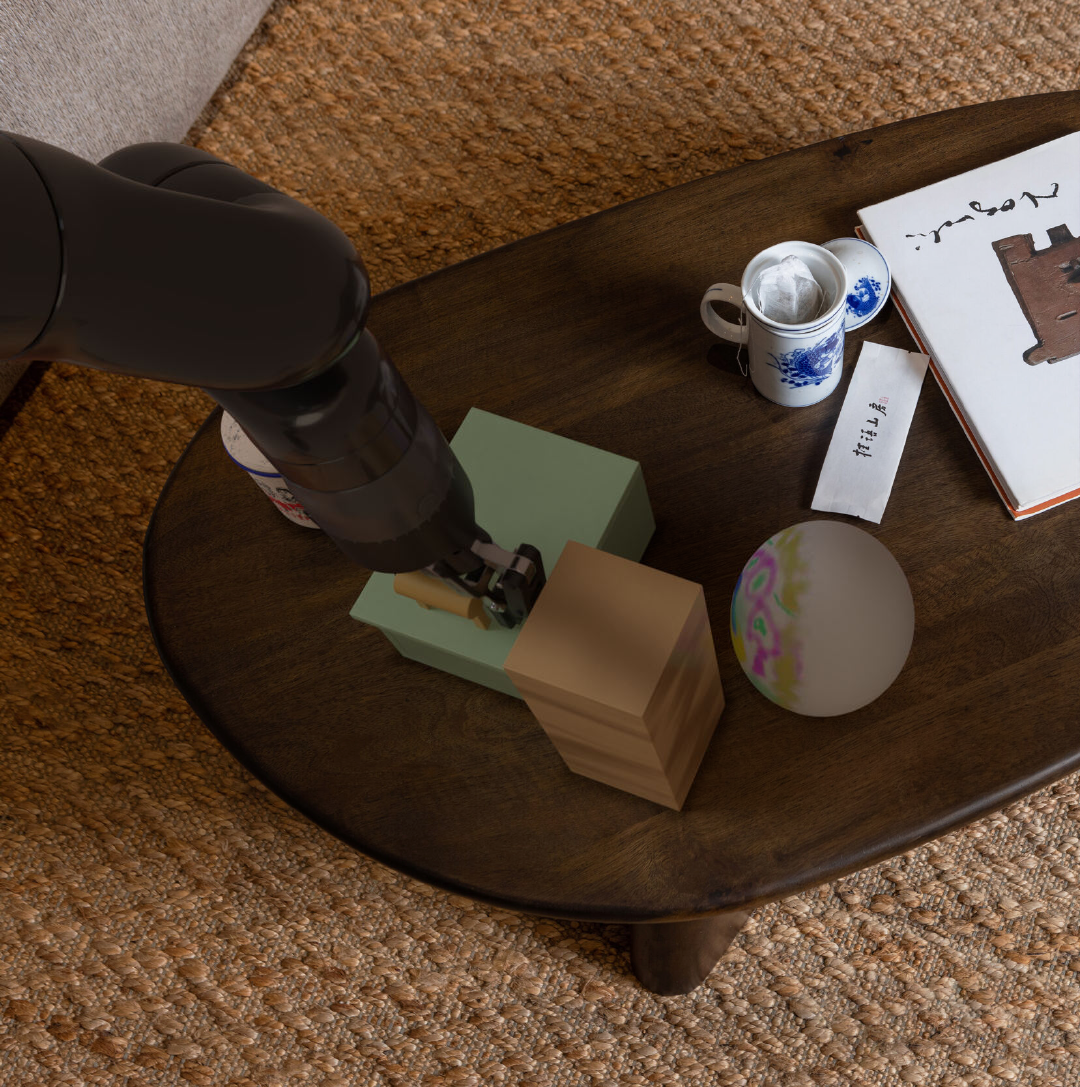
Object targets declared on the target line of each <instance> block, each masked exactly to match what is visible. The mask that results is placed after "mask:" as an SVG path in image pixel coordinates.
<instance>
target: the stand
mask: <svg viewBox="0 0 1080 1087" xmlns="http://www.w3.org/2000/svg"><path fill="white" fill-rule="evenodd" d="M712 634H713V633H712V630H711V623H710V619H709V613H708V609H707V602H706V599H705V593H704V587H703V585H702V584H700V583H697V582H694V581H691V580H689V579H685V578H683V577H679V576H677V575H675V574H671V573H668V572H666V571H662V570H659V569H658V568H657V569H656V568H653V567H650V566H648V565H645V564H642V563H640V562H639V563H636V562H633V561H630V560H627V559H624V558H622V557H619V556H616V555H613V554H610V553H607V552H604V551H601V550H598V549H595V548H592V547H589V546H587V545H584V544H581V543H578V542H575V541H572V540H568V542H567V544H566V546H565V547H564V549H563V551H562V553H561V555H560V557H559V559H558V561H557V563H556V565H555V567H554V569H553V570H552V572H551V574H550V576H549V578H548V580H547V582H546V584H545V586H544V588H543V590H542V592H541V593H540V595H539V597H538V599H537V601H536V603H535V605H534V607H533V609H532V611H531V613H530V615H529V616H528V618H527V620H526V622H525V624H524V626H523V628H522V630H521V632H520V634H519V636H518V638H517V639H516V641H515V643H514V645H513V647H512V649H511V651H510V653H509V655H508V657H507V659H506V661H505V663H504V664H503V668H504V670H505V671H506V673H507V674H508V676H509V678H510V679H511V681H512V682H513V684H514V685H515V687H516V688H517V690H518V691H519V693H520V694H521V696H522V697H523V699H524V700H523V701H524V702H525V704H526V705H527V706H528V708H529V710H530V711H531V713H532V714H533V716H534V717H535V719H536V721H537V722H538V724H539V725H540V726H541V727H542V729H543V731H544V733H545V734H546V735H547V737H548V739H549V740H550V741H551V743H552V744H553V746H554V748H555V749H556V751H557V752H558V753H559V755H560V756H561V758H562V759H563V761H564V762H565V764H566V765H567V767H568V769H569V771H570V772H573V773H575V774H577V775H580V776H583V777H585V778H588V779H591V780H594V781H596V782H599V783H602V784H604V785H607V786H610V787H613V788H615V789H618V790H620V791H623V792H626V793H629V794H631V795H634V796H636V797H639V798H643V799H644V800H648V801H650V802H653V803H656V804H658V805H661V806H664V807H666V808H669V809H671V810H675V811H677V812H681V810H682V808H683V806H684V803H685V801H686V799H687V796H688V794H689V792H690V789H691V787H692V785H693V782H694V779H695V778H696V775H697V773H698V770H699V768H700V765H701V763H702V761H703V759H704V756H705V753H706V751H707V749H708V747H709V744H710V742H711V739H712V737H713V735H714V733H715V730H716V728H717V725H718V724H719V721H720V718H721V716H722V713H723V711H724V709H725V706H726V701H725V695H724V690H723V686H722V680H721V676H720V670H719V665H718V660H717V655H716V649H715V644H714V640H713V635H712Z"/></svg>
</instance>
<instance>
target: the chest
mask: <svg viewBox="0 0 1080 1087" xmlns="http://www.w3.org/2000/svg"><path fill="white" fill-rule="evenodd" d="M643 474H644V473H643V470H642V468H641V469H640V471H639V473H638V475H637V477H636V479H635V481H634V483H633V485H632V487H631V489H630V490H629V492H628V494H627V496H626V498H625V500H624V502H623V504H622V506H621V508H620V510H619V512H618V514H617V516H616V518H615V520H614V522H613V524H612V526H611V528H610V530H609V532H608V534H607V536H606V538H605V540H604V542H603V544H602V546H601V548H600V550H601V551H604V552H607V553H610V554H613V555H616V556H619V557H622V558H624V559H627V560H630V561H633V562H636V563H639V564H640V561H641V560H642V558H643V556H644V553H645V552H646V550H647V547H648V545H649V543H650V542H651V539H652V536H653V535H654V533H655V531H656V528H657V525H656V522H655V518H654V514H653V509H652V507H651V506H652V505H651V502H650V498H649V494H648V491H647V486H646V481H645V479H644V475H643ZM379 631H381V632H382V633H383V634H384V636H385V637H386V638H387V639H388V640H389V642H391V644H392V645H393V646H394V647H395V649H396V650H397V651H398V652H399V653H400V655H401V656H402V657H404V658H407V659H410V660H412V661H415V662H418V663H421V664H423V665H426V666H429V667H432V668H434V669H437V670H440V671H442V672H445V673H448V674H451V675H453V676H455V677H459V678H462V679H464V680H467V681H470V682H473V683H475V684H478V685H481V686H484V687H486V688H489V689H491V690H494V691H498V692H500V693H502V694H505V695H508V696H512V697H514V698H516V699H519V700H522V701H525V700H524V699H523V697H522V696H521V694H520V693H519V691H518V690H517V688H516V687H515V685H514V684H513V682H512V681H511V679H510V678H509V676H508V674H505V673H502V672H499V671H497V670H494V669H491V668H488V667H486V666H483V665H480V664H477V663H475V662H472V661H469V660H466V659H464V658H461V657H458V656H455V655H453V654H450V653H447V652H444V651H442V650H439V649H436V648H433V647H431V646H428V645H425V644H422V643H419V642H417V641H414V640H411V639H408V638H406V637H403V636H400V635H397V634H395V633H392V632H389V631H386V630H384V629H381V628H379Z"/></svg>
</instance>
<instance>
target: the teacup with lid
mask: <svg viewBox="0 0 1080 1087" xmlns="http://www.w3.org/2000/svg"><path fill="white" fill-rule="evenodd" d="M220 435H221V440H222V444H223V447H224V449H225V451H226V453H227V455H228V456H229V457H230V458H229V459H231V460H232V461H233V462H234V463H235V464H236V465H237V466H238V467H240V468H241V469H243V470H244V471H246V472H247V473H248V475H249V476H250V477H251V478H252V480H254V482H255V483H256V484H257V486H259V488H261V490H262V491H263V492H264V494H265V495H267V497H268V498H269V499H270V500H271V502H272V503H273V504H274V505H275V506H276V507H277V509H278V510H279V511H280V512H281V513H282V514H283V515H284V516H285V517H286V518H287V519H289V520H290V521H292V522H294V523H295V524H297V525H300V526H302V527H306V528H311V529H319V530H321V529H320V528H319V527H318V526H317V525H316V524H315V523H314V522H313V521H312V520H310V519H309V518H308V517H307V516H306V515H305V514H304V513H303V510H304V508H303V507H302V506H301V505H300V504H299V502H298V501H297V500H296V499H295V497H294V496H293V495H292V494H291V492H290V491H289V489H288V488H287V486H286V484H285V482H284V481H283V479H282V477H281V475H280V473H279V472H278V471H277V470H276V469H275V468H274V467H273V466H272V464H271V463H270V462H269V461H268V460H267V459H266V458H265V457H264V455H263V454H262V453H261V452H260V451H259V450H258V449H257V448H256V447H255V445H254V444H253V443H252V442H251V441H250V440H249V438H248V437H247V436H246V434H245V433H244V432H243V430H242V429H241V428H240V426H239V424H238V423H237V422H236V421H235V420H234V419H233V418H232V417H231V416H230V415H229V414H228V413H227V412H226V411H225V410H224V409H223V414H222V417H221V422H220Z"/></svg>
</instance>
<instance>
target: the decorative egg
mask: <svg viewBox="0 0 1080 1087" xmlns="http://www.w3.org/2000/svg"><path fill="white" fill-rule="evenodd" d="M743 567H744V568H742V571H741V573H740V575H739V576H738V580H737V582H736V585H735V588H734V591H733V595H732V599H731V605H730V616H729V618H730V619H729V620H730V621H729V626H730V637H731V642H732V646H733V649H734V652H735V655H736V658H737V661H738V662H739V665H740V667H741V669H742V670H743V672H744V673H745V675H746V676H747V679H749V681H750V682H751V684H752V685H753V686H754V687H755V688H756V689H757V690H758V691H759V692H760V693H761V694H762V695H763V696H764V697H765V698H766V699H768V700H770V701H771V702H772V703H773V704H775V705H777V706H779V707H781V708H783V709H785V710H787V711H790V712H793V713H796V714H799V715H803V716H808V717H823V718H824V717H825V718H827V717H837V716H841V715H845V714H848V713H852V712H854V711H857V710H859V709H861V708H863V707H865V706H867V705H869V704H871V703H872V702H873V701H875V700H877V698H879V697H880V696H881V695H883V693H884V692H885V691H887V689H889V688H890V687H891V685H892V684H893V683H894V681H896V680H897V678H898V676H899V675H900V673H901V672H902V669H903V667H904V666H905V664H906V663H907V659H908V658H909V654H910V651H911V648H912V644H913V641H914V640H913V639H914V634H915V625H916V624H915V623H916V621H915V620H916V619H915V618H916V617H915V616H916V615H915V606H914V599H913V598H914V597H913V595H912V591H911V588H910V585H909V584H910V583H909V581H908V579H907V576H906V574H905V573H904V570H903V569H902V566H901V565H900V564H899V562H898V561H897V559H896V558H895V556H894V555H893V554H892V553H891V552H890V550H889V549H888V548H887V546H885V545H884V544H883V543H882V542H881V541H880V540H878V538H876V537H874V536H873V535H872V534H870V533H868V532H867V531H865V530H863V529H861V528H860V527H858V526H855V525H852V524H849V523H846V522H842V521H836V520H826V519H825V520H824V519H823V520H822V519H819V520H807V521H805V522H800V523H797V524H794V525H792V526H789V527H786V528H785V529H782V530H781V531H779V532H777V533H776V534H774V535H773V536H771V537H770V538H769V539H768V540H766V541H765V542H764V543H763V544H762V545H760V547H759V548H757V550H756V551H755V552H754V553H753V554H752V556H751V557H750V558H749V560H748V561H747V562H746V564H745V566H743Z"/></svg>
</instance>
